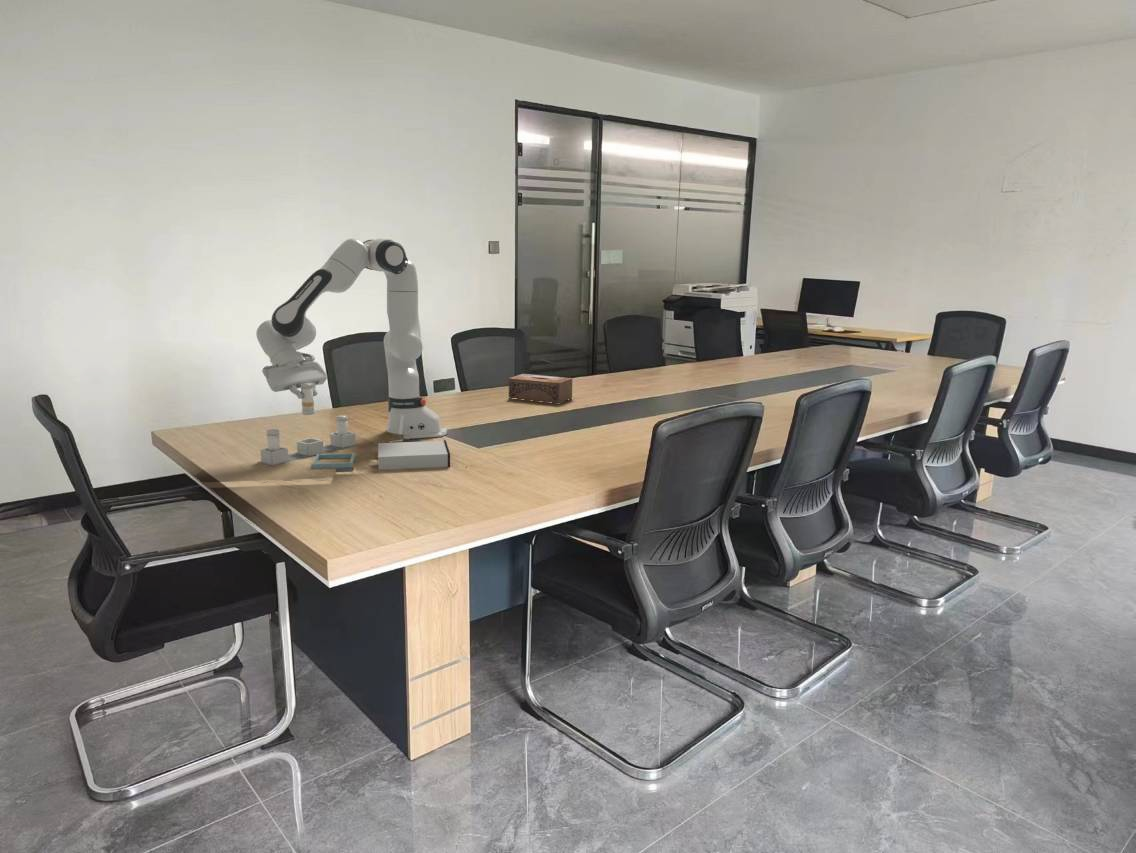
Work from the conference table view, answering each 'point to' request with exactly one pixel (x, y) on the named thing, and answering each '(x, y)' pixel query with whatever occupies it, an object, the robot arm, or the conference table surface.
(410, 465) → the disc drive
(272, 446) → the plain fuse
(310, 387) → the marked fuse
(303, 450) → the fuse holder
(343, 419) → the peg
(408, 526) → the conference table surface
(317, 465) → the tray
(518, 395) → the tissue box cover
